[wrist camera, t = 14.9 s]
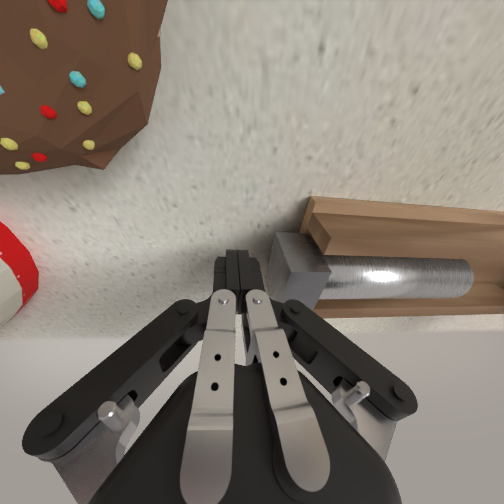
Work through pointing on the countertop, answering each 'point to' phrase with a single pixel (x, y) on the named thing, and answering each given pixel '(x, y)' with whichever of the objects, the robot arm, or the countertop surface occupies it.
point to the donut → (75, 79)
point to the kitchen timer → (15, 275)
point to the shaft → (358, 274)
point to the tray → (411, 251)
